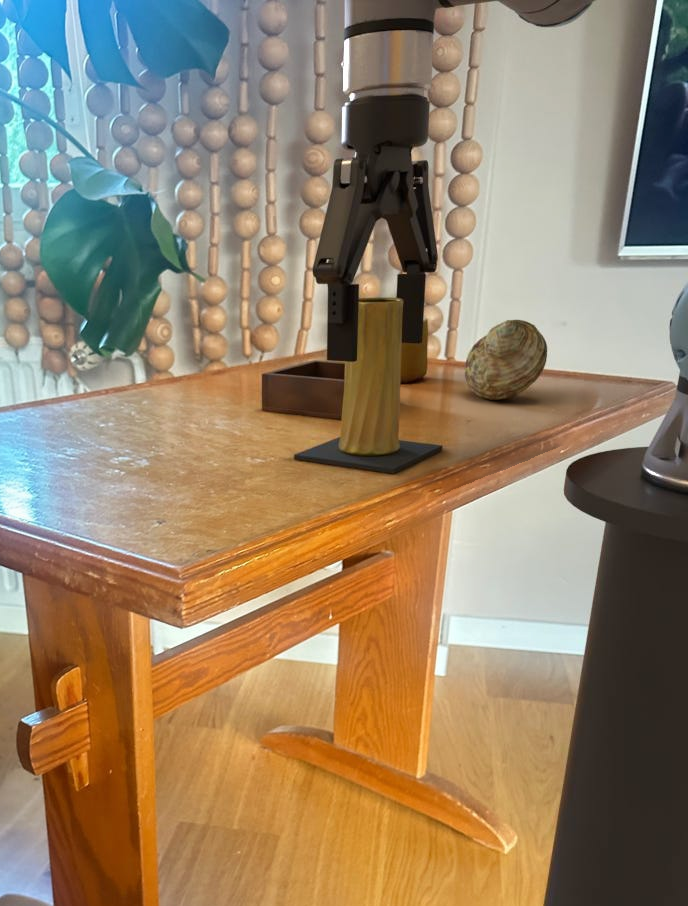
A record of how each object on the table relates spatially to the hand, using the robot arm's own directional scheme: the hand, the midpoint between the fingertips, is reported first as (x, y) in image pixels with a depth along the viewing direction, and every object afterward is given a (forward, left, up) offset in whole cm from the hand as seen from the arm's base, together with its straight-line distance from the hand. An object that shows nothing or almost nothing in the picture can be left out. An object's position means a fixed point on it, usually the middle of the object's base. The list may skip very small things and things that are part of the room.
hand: (376, 351), depth 89 cm
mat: (0, 0, -10) cm, 10 cm away
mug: (+20, -42, -10) cm, 48 cm away
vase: (0, 0, -10) cm, 10 cm away
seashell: (0, -36, -10) cm, 37 cm away
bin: (+16, -20, -10) cm, 28 cm away
